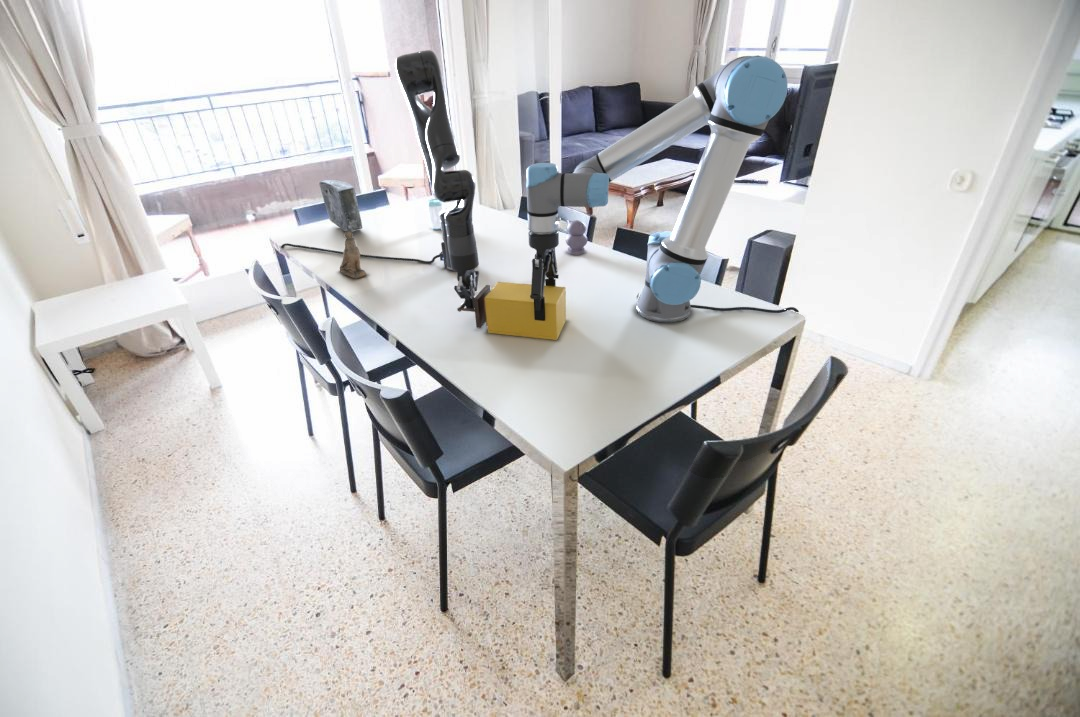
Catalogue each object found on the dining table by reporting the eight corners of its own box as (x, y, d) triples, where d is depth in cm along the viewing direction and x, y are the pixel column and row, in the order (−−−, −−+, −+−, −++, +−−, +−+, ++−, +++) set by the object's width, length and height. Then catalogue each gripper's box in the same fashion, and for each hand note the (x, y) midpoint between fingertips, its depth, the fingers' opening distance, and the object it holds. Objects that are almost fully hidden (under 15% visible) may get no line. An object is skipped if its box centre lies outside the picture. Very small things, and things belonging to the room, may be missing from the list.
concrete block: (367, 234, 218) (357, 187, 208) (347, 238, 214) (336, 190, 203) (348, 221, 237) (338, 177, 226) (329, 225, 232) (318, 180, 222)
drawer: (457, 325, 139) (454, 297, 134) (471, 310, 147) (467, 283, 142) (540, 334, 133) (539, 304, 129) (549, 318, 141) (548, 289, 137)
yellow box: (487, 332, 137) (484, 297, 131) (500, 315, 146) (498, 281, 140) (556, 340, 132) (556, 303, 126) (565, 321, 141) (565, 287, 135)
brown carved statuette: (368, 281, 178) (362, 235, 166) (353, 285, 175) (347, 238, 163) (352, 266, 184) (346, 221, 172) (338, 270, 181) (331, 224, 169)
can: (445, 229, 220) (441, 202, 214) (429, 230, 220) (425, 202, 214) (447, 224, 226) (444, 198, 220) (432, 225, 226) (428, 198, 220)
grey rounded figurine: (591, 251, 189) (592, 220, 183) (578, 257, 185) (578, 225, 178) (574, 246, 195) (574, 216, 188) (561, 252, 190) (560, 221, 183)
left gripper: (466, 259, 126) (475, 320, 135) (484, 242, 137) (491, 300, 145) (439, 258, 127) (449, 318, 136) (459, 242, 138) (467, 299, 147)
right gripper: (546, 246, 113) (548, 331, 124) (568, 217, 132) (568, 293, 143) (514, 244, 114) (519, 328, 126) (541, 216, 133) (543, 291, 145)
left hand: (471, 309), depth 141 cm, fingers closed
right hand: (545, 310), depth 135 cm, fingers closed on yellow box, 11 cm apart
